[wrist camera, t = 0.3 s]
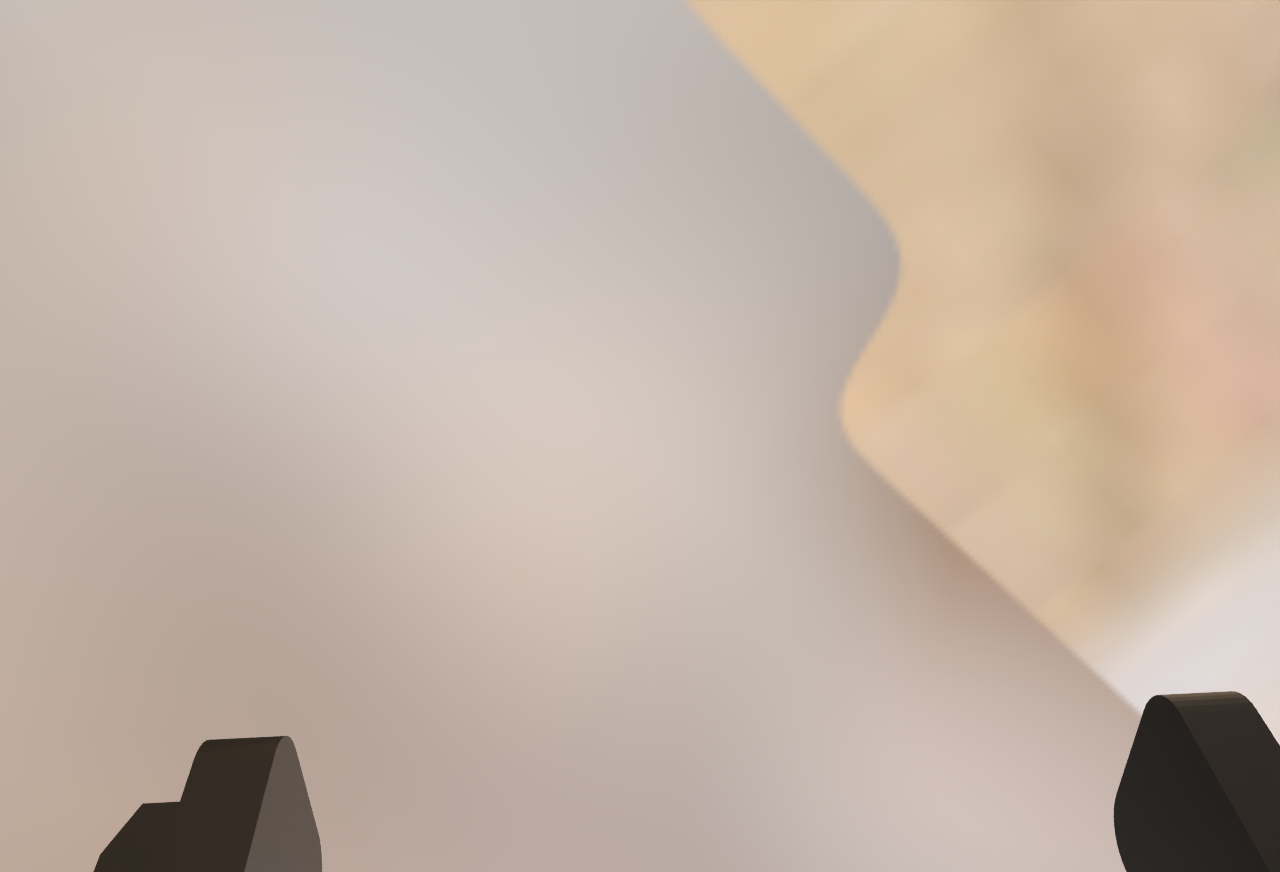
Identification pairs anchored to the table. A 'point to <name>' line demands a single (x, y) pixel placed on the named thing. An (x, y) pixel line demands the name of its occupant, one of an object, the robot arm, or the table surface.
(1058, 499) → the table surface
